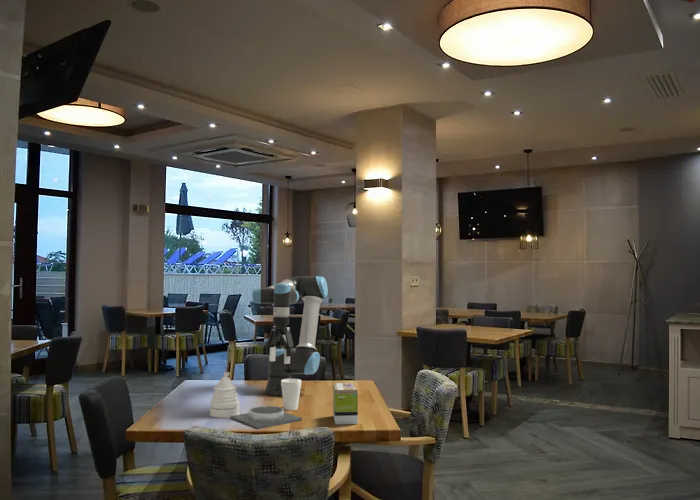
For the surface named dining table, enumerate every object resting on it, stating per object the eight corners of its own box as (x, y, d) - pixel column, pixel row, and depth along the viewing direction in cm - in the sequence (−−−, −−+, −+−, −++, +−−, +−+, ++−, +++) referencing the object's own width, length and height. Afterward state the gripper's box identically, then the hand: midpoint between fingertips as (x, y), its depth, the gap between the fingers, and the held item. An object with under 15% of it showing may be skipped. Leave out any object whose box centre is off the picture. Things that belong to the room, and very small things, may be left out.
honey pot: (214, 410, 261) (215, 370, 262) (242, 410, 261) (242, 371, 261) (206, 417, 248) (207, 375, 249) (235, 417, 248) (236, 376, 249)
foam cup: (297, 411, 260) (297, 382, 261) (278, 410, 262) (278, 381, 263) (303, 406, 270) (303, 379, 270) (284, 405, 271) (284, 378, 272)
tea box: (332, 415, 253) (332, 382, 254) (355, 415, 254) (355, 382, 254) (334, 424, 238) (334, 389, 239) (358, 424, 239) (358, 388, 239)
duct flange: (273, 410, 261) (273, 402, 261) (301, 420, 244) (302, 410, 244) (230, 418, 246) (230, 409, 246) (257, 428, 230) (258, 418, 230)
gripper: (261, 315, 274) (259, 360, 272) (287, 317, 255) (286, 365, 252) (275, 315, 279) (273, 359, 277) (302, 317, 259) (300, 364, 257)
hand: (279, 362), depth 264 cm, fingers open, 13 cm apart
